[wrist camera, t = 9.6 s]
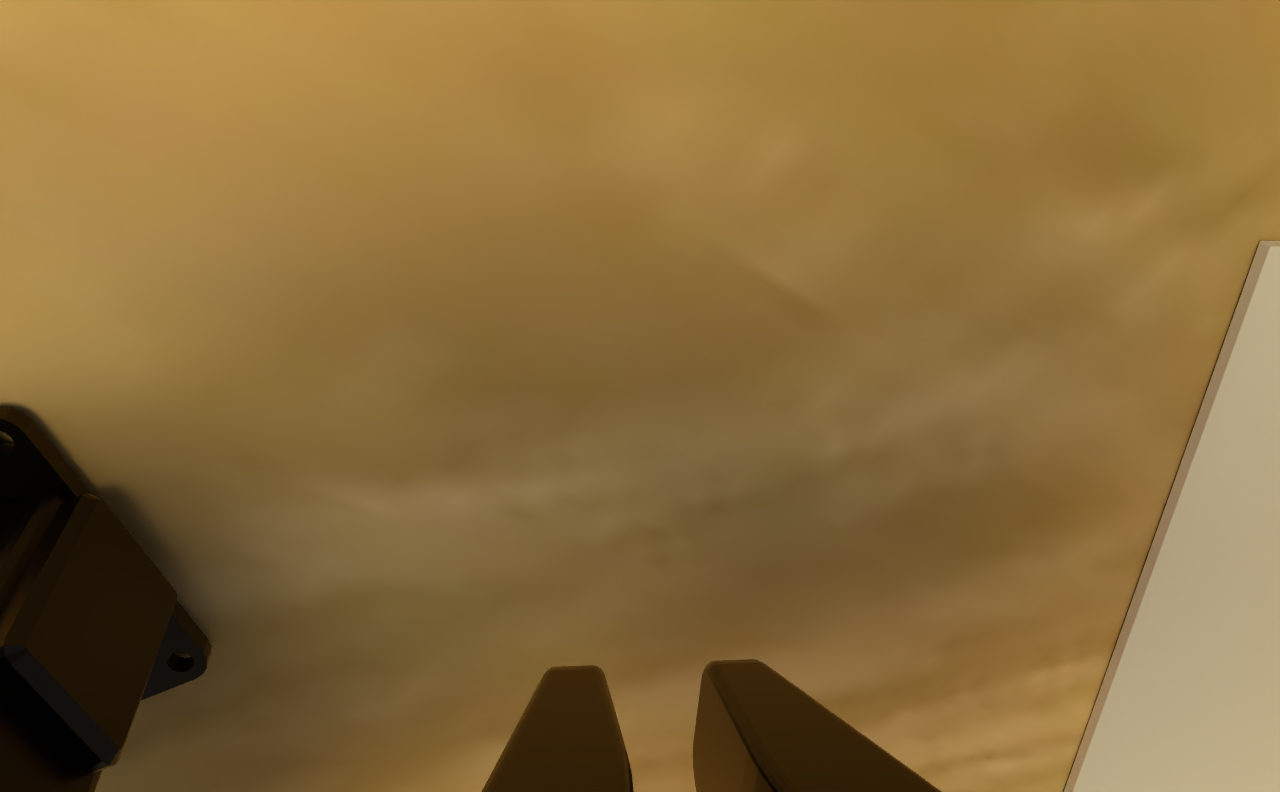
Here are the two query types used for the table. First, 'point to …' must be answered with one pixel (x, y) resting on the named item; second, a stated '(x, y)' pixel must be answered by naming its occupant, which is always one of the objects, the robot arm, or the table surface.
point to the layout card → (1207, 592)
